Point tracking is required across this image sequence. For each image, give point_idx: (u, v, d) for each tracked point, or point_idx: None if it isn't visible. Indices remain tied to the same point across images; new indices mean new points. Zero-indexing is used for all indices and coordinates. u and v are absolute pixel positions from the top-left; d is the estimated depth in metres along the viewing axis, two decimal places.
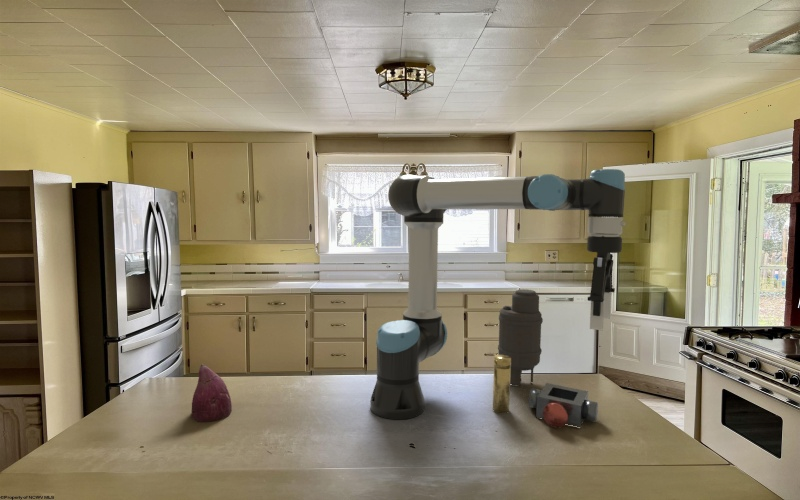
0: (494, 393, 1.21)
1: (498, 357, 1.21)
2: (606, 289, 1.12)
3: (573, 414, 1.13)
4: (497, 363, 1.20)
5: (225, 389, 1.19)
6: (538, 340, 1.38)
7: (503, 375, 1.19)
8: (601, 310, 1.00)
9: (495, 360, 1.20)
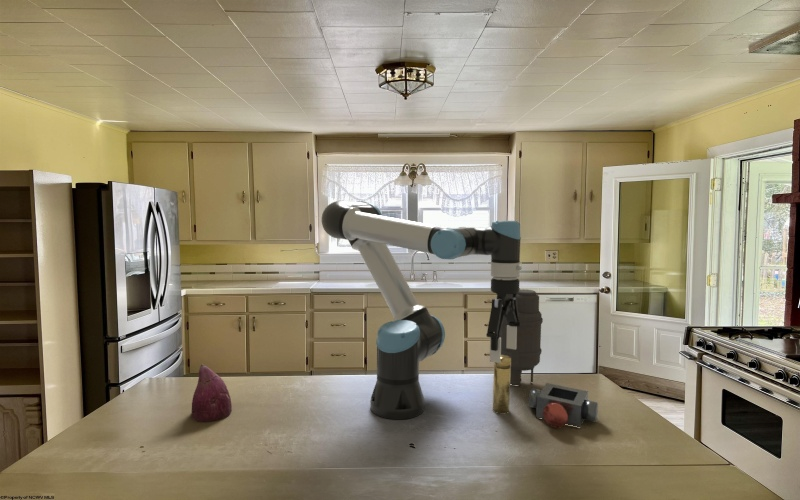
0: (494, 393, 1.21)
1: None
2: (512, 323, 1.26)
3: (573, 414, 1.13)
4: (497, 363, 1.20)
5: (225, 389, 1.19)
6: (538, 340, 1.38)
7: (503, 375, 1.19)
8: (498, 345, 1.14)
9: None
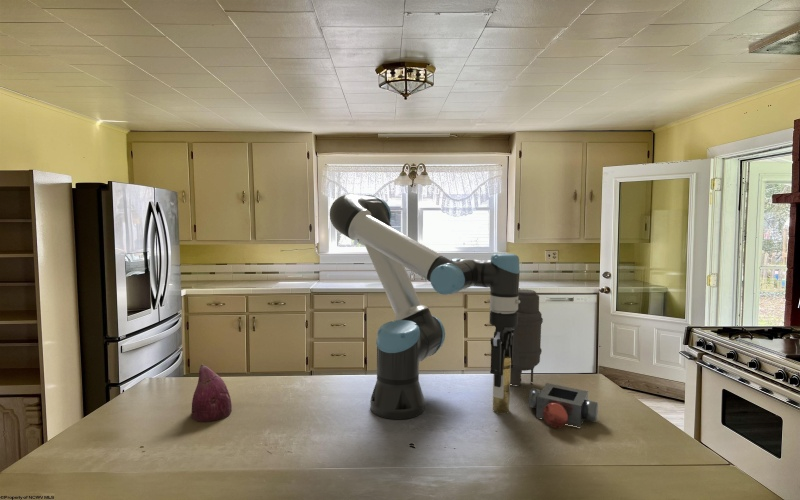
0: None
1: None
2: None
3: (573, 414, 1.13)
4: None
5: (225, 389, 1.19)
6: (538, 340, 1.38)
7: None
8: (501, 382, 1.19)
9: None
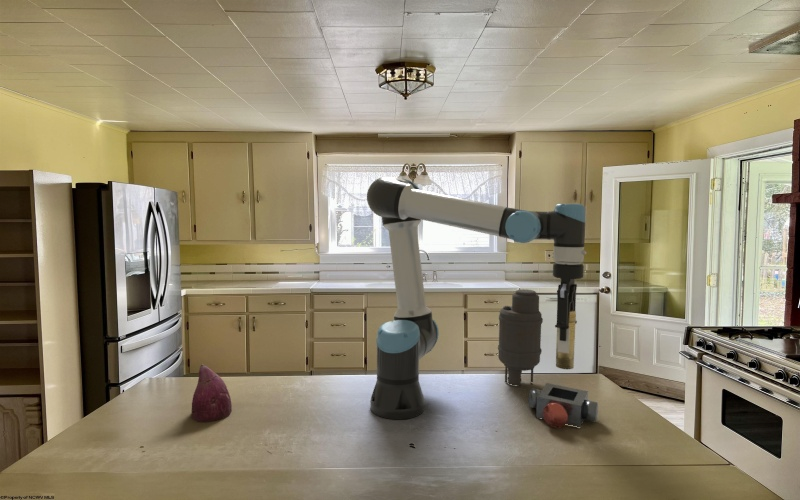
0: None
1: None
2: None
3: (573, 414, 1.13)
4: None
5: (225, 389, 1.19)
6: (538, 340, 1.38)
7: None
8: (567, 335, 1.15)
9: None
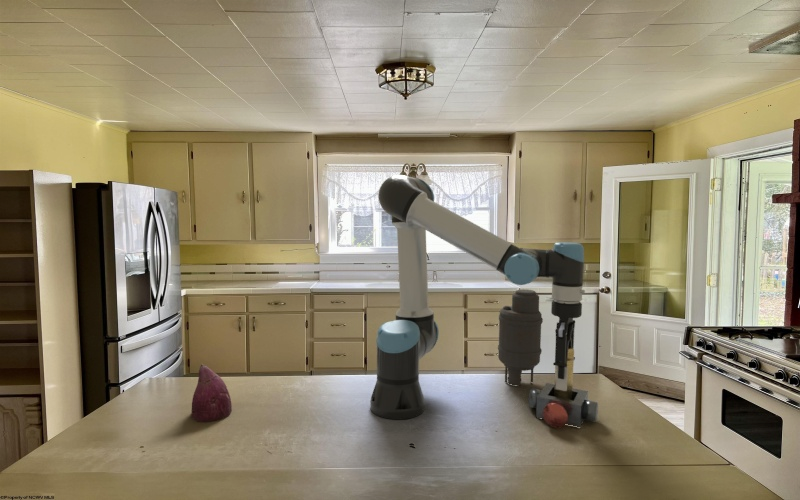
0: None
1: None
2: None
3: (573, 414, 1.13)
4: None
5: (225, 389, 1.19)
6: (538, 340, 1.38)
7: None
8: (565, 373, 1.16)
9: None
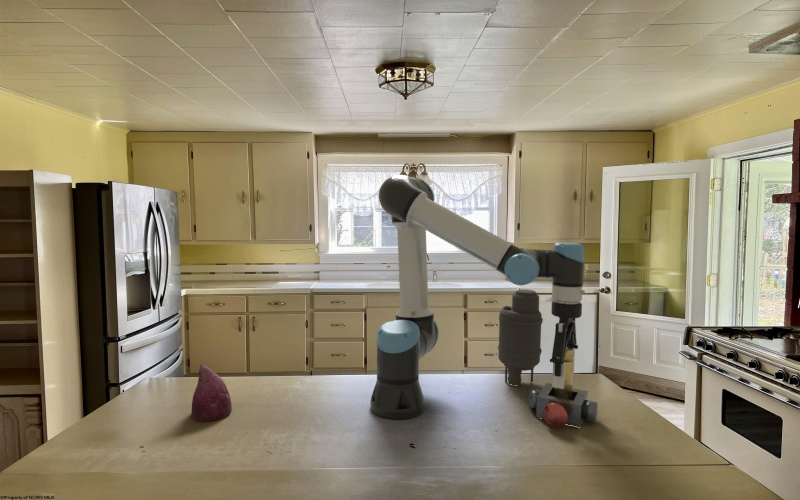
0: None
1: None
2: (570, 346, 1.24)
3: (573, 414, 1.13)
4: None
5: (225, 389, 1.19)
6: (538, 340, 1.38)
7: (566, 368, 1.16)
8: (562, 371, 1.12)
9: None
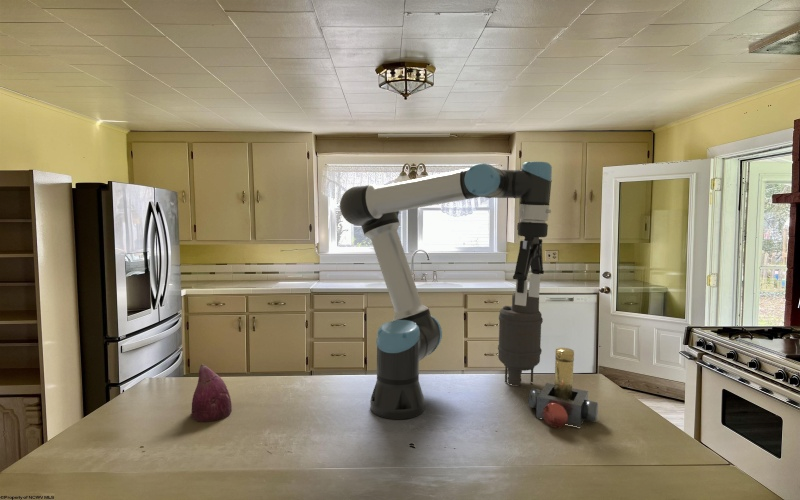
0: (556, 387, 1.18)
1: (560, 350, 1.18)
2: (536, 271, 1.24)
3: (573, 414, 1.13)
4: (560, 356, 1.17)
5: (225, 389, 1.19)
6: (538, 340, 1.38)
7: (566, 368, 1.16)
8: (524, 288, 1.12)
9: (558, 353, 1.18)
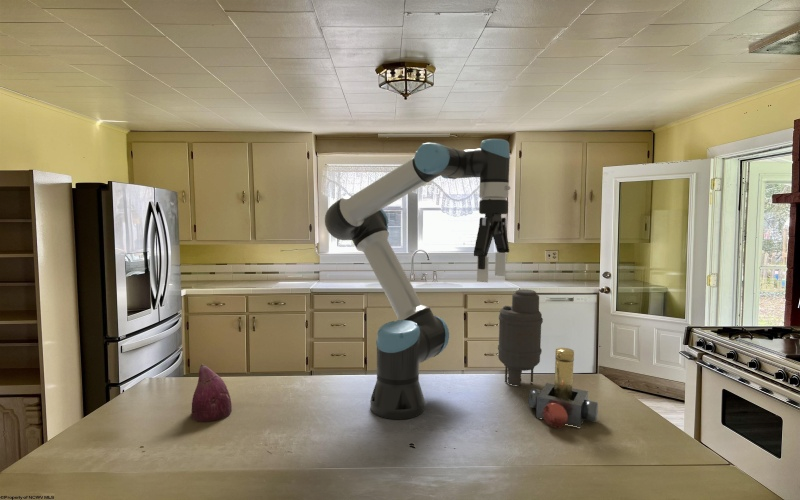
0: (556, 387, 1.18)
1: (560, 350, 1.18)
2: (501, 250, 1.25)
3: (573, 414, 1.13)
4: (560, 356, 1.17)
5: (225, 389, 1.19)
6: (538, 340, 1.38)
7: (566, 368, 1.16)
8: (485, 264, 1.12)
9: (558, 353, 1.18)
